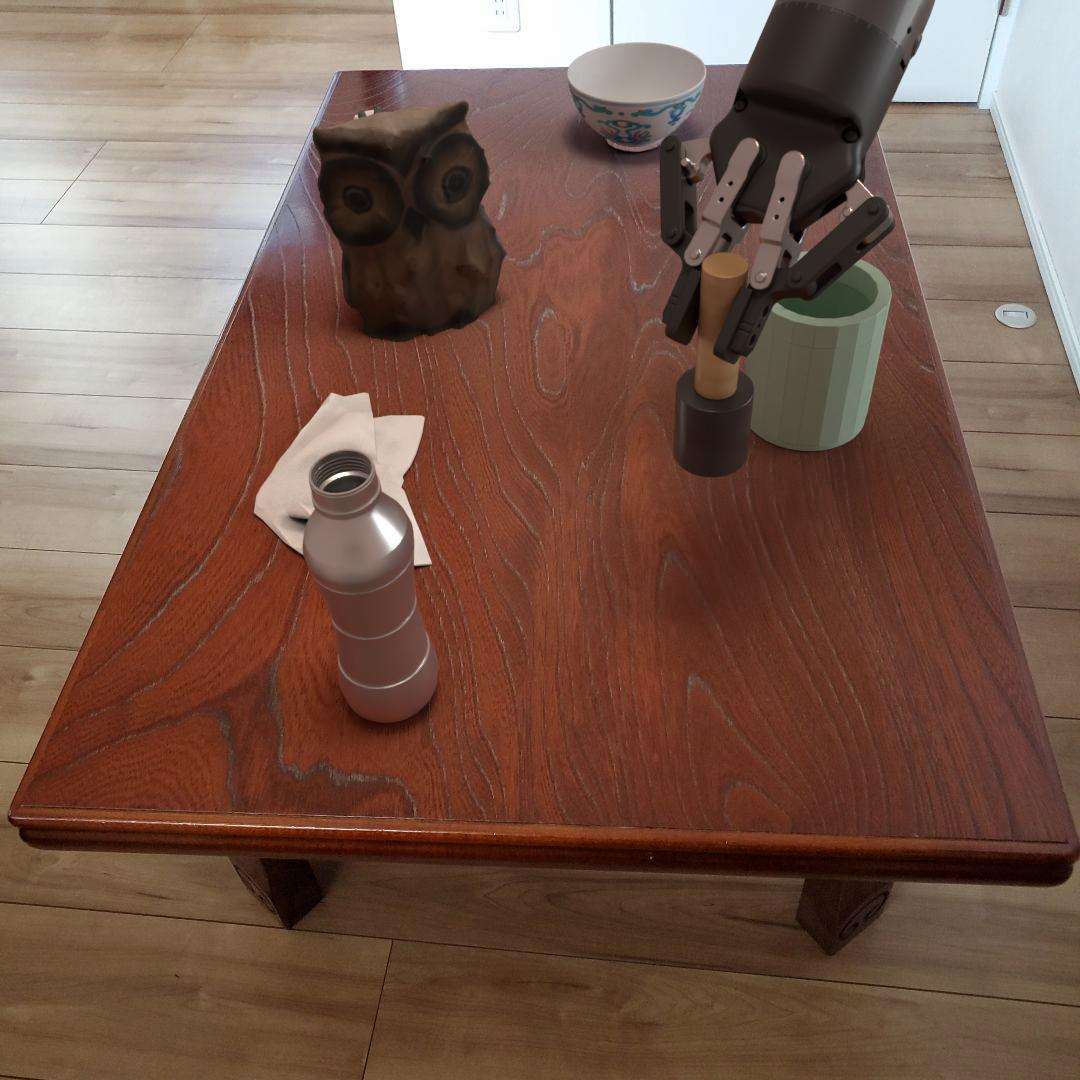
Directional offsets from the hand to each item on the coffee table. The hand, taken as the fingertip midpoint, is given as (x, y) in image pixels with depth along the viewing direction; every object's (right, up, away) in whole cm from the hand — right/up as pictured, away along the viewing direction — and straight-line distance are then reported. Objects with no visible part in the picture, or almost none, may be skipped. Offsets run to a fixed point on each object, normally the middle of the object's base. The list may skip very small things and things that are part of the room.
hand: (700, 348), depth 59 cm
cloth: (-24, -7, +28) cm, 38 cm away
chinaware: (+2, +36, +66) cm, 75 cm away
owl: (-19, +12, +47) cm, 52 cm away
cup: (+13, 0, +33) cm, 35 cm away
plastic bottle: (-18, -21, +15) cm, 31 cm away
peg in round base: (+2, -5, +8) cm, 9 cm away
